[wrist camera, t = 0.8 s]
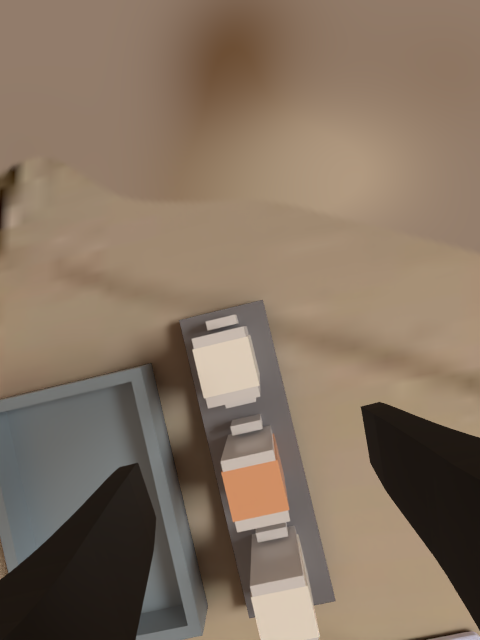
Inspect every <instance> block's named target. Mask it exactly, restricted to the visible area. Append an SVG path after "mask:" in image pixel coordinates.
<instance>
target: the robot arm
mask: <svg viewBox="0 0 480 640" xmlns="http://www.w3.org/2000/svg"><path fill="white" fill-rule="evenodd" d="M361 410H362V416H363V422H364V428H365V434H366V440H367V445H368V451H369V457H370V463H371V465H372V467H373V468H374V470H375V472H376V474H377V476H378V478H379V479H380V481H381V483H382V485H383V486H384V488H385V490H386V491H387V493H388V494H389V496H390V497H391V499H392V500H393V501H394V503H395V504H396V505H397V507H398V508H399V509H400V511H401V512H402V514H403V515H404V516H405V518H406V519H407V520H408V522H409V523H410V524H411V526H412V527H413V528H414V530H415V531H416V533H417V534H418V535H419V537H420V538H421V539H422V541H423V542H424V543H425V545H426V546H427V547H428V549H429V550H430V551H431V553H432V554H433V556H434V557H435V558H436V560H437V561H438V563H439V564H440V566H441V567H442V569H443V570H444V572H445V573H446V575H447V577H448V578H449V580H450V581H451V583H452V585H453V586H454V588H455V590H456V591H457V593H458V595H459V596H460V598H461V600H462V601H463V603H464V604H465V606H466V608H467V609H468V611H469V613H470V615H471V616H472V618H473V620H474V621H475V623H476V625H477V626H478V628H479V630H480V438H479V437H475V436H472V435H469V434H466V433H463V432H459V431H456V430H453V429H450V428H447V427H444V426H442V425H439V424H436V423H433V422H431V421H428V420H425V419H423V418H420V417H418V416H415V415H413V414H410V413H408V412H405V411H403V410H400V409H398V408H395V407H393V406H390V405H387V404H384V403H381V402H378V403H374V404H370V405H366V406H362V407H361ZM155 531H156V515H155V512H154V509H153V506H152V503H151V500H150V497H149V494H148V491H147V488H146V485H145V482H144V479H143V476H142V473H141V470H140V467H139V464H138V463H134V464H130V465H126V466H122V467H119V468H118V469H117V470H115V471H114V472H113V473H112V474H111V475H110V476H109V477H108V478H107V479H106V480H105V481H104V482H103V484H102V485H101V486H100V487H99V488H98V489H97V490H96V491H95V492H94V493H93V494H92V495H91V496H90V497H89V498H88V499H87V500H86V501H85V503H84V504H83V505H82V506H81V507H80V508H79V509H78V510H77V511H76V512H75V513H74V514H73V515H72V516H71V517H70V518H69V519H68V520H67V521H66V522H65V523H64V524H63V525H62V526H61V527H60V528H59V529H58V530H57V531H56V532H55V533H54V534H53V535H52V536H51V537H50V538H49V539H47V540H46V541H45V542H44V543H43V544H42V545H41V546H40V547H39V548H38V549H37V550H35V551H34V552H33V553H32V554H31V555H30V556H29V557H27V558H26V559H25V560H24V561H23V562H21V563H20V564H19V565H18V566H17V567H16V568H14V569H13V570H12V571H11V572H10V573H8V574H7V575H6V576H5V577H3V578H2V579H1V580H0V640H136V635H137V630H138V625H139V620H140V616H141V611H142V606H143V601H144V597H145V592H146V587H147V582H148V577H149V572H150V567H151V562H152V557H153V552H154V543H155ZM428 640H480V637H479V635H478V634H477V633H476V632H473V631H469V632H464V633H459V634H454V635H449V636H443V637H438V638H433V639H428Z"/></svg>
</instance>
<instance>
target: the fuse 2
mask: <svg viewBox="0 0 480 640" xmlns="http://www.w3.org/2000/svg"><path fill="white" fill-rule="evenodd" d="M287 530H288V536H287V537H282V538H277V539H272V540H267V541H263V542H258V541H257V537H256V534H252V546H251V572H250V589H251V601H252V605H253V609H254V613H255V618H256V622H257V626H258V630H259V635H260V639H261V640H319V637H320V634H319V629H318V624H317V619H316V614H315V608H314V603H313V598H312V593H311V588H310V582H309V577H308V573H307V568H306V564H305V560H304V556H303V552H302V548H301V543H300V539H299V535H298V534H297V533H296V529H295V526H290V527H287Z"/></svg>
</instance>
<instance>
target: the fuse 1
mask: <svg viewBox="0 0 480 640" xmlns="http://www.w3.org/2000/svg"><path fill="white" fill-rule="evenodd" d="M192 343H193V347H194V349H193V350H192V351H193V355H194V359H195V364H196V368H197V372H198V376H199V380H200V385H201V389H202V393H203V397H204V398H206V402H207V407H208V408H213V407H217V406H222V405H226V404H230V403H235V402H239V401H243V400H248V399H252V398H256V397H260V373H259V369H258V365H257V361H256V356H255V352H254V348H253V344H252V340H251V336H250V334H248V329H247V326H243V327H239V328H234V329H230V330H226V331H222V332H218V333H214V334H209V335H205V336H201V337H197V338H193V339H192Z"/></svg>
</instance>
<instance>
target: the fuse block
mask: <svg viewBox="0 0 480 640" xmlns="http://www.w3.org/2000/svg"><path fill="white" fill-rule="evenodd" d="M179 322H180V326H181V330H182V334H183V339H184V343H185V347H186V351H187V356H188V360H189V364H190V368H191V372H192V377H193V381H194V385H195V389H196V394H197V398H198V402H199V406H200V411H201V415H202V419H203V423H204V428H205V432H206V436H207V440H208V445H209V449H210V453H211V457H212V462H213V466H214V470H215V474H216V479H217V483H218V487H219V491H220V496H221V500H222V504H223V508H224V513H225V517H226V521H227V525H228V529H229V534H230V538H231V542H232V546H233V551H234V555H235V559H236V563H237V568H238V572H239V576H240V580H241V585H242V589H243V593H244V597H245V602H246V606H247V610H248V614H249V618H254V617H255V613H254V609H253V605H252V601H251V589H250V572H251V546H252V534H256V537H257V541H258V542H263V541H267V540H272V539H277V538H282V537H287V536H288V530H287V527H290V526H295V529H296V533H297V534H298V535H299V539H300V543H301V548H302V552H303V556H304V560H305V564H306V568H307V573H308V577H309V582H310V588H311V593H312V598H313V603H314V605H319V604H324V603H329V602H334V601H335V596H334V592H333V588H332V584H331V580H330V576H329V572H328V567H327V563H326V559H325V555H324V551H323V547H322V543H321V539H320V534H319V530H318V526H317V522H316V518H315V514H314V510H313V506H312V501H311V497H310V493H309V489H308V485H307V481H306V477H305V472H304V468H303V464H302V460H301V456H300V452H299V448H298V444H297V439H296V435H295V431H294V427H293V423H292V419H291V415H290V411H289V406H288V402H287V398H286V394H285V390H284V386H283V382H282V377H281V373H280V369H279V365H278V361H277V357H276V353H275V349H274V344H273V340H272V336H271V332H270V328H269V324H268V320H267V316H266V311H265V307H264V303H263V300H260V301H256V302H252V303H248V304H244V305H240V306H236V307H231V308H227V309H223V310H219V311H215V312H211V313H207V314H203V315H199V316H194V317H190V318H186V319H182V320H179ZM243 326H247V329H248V334H250V336H251V340H252V344H253V348H254V352H255V356H256V361H257V365H258V369H259V373H260V397H256V398H252V399H248V400H243V401H239V402H235V403H230V404H226V405H222V406H217V407H213V408H208V407H207V402H206V398H204V397H203V393H202V389H201V385H200V380H199V376H198V372H197V368H196V364H195V359H194V355H193V351H192V350H193V349H194V347H193V343H192V339H193V338H197V337H201V336H205V335H209V334H214V333H218V332H222V331H226V330H230V329H234V328H239V327H243ZM269 425H271V429H272V433H274V435H275V440H276V444H277V448H278V452H279V456H280V460H281V464H282V469H283V473H284V479H285V485H286V491H287V498H288V504H289V516H290V521H289V522H284V523H280V524H275V525H270V526H266V527H261V528H256V529H251V530H247V531H242V532H237V529H236V525H235V522H233V520H232V516H231V512H230V508H229V503H228V499H227V495H226V491H225V486H224V482H223V478H222V474H221V471H222V466H221V462H220V461H221V458H222V454H223V451H224V447H225V444H226V441H227V437H228V435H229V434H232V436H234V435H238V434H242V433H247V432H251V431H256V430H260V429H263V427H264V426H269Z"/></svg>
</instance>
